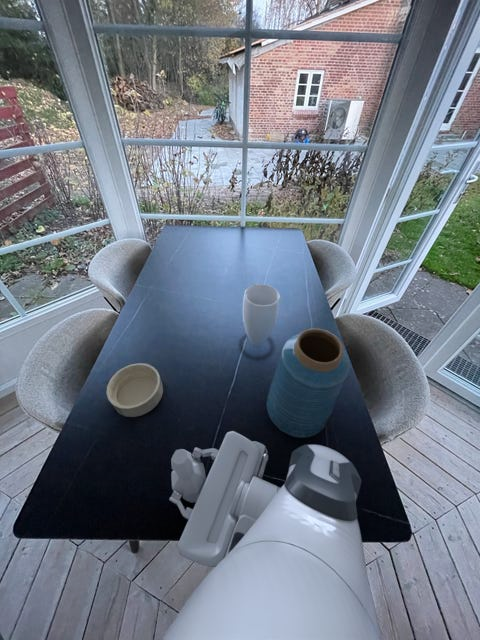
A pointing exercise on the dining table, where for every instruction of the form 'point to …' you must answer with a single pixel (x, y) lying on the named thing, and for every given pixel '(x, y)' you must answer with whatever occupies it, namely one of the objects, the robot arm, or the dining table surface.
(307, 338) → the vase
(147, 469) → the dining table surface
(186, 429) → the dining table surface
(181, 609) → the robot arm
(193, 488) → the faceted bottle
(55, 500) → the dining table surface
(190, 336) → the dining table surface
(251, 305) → the cup
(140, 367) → the bowl
